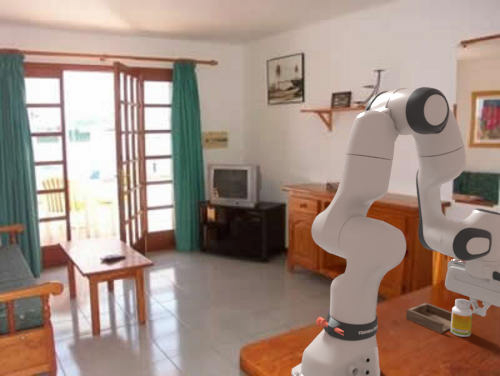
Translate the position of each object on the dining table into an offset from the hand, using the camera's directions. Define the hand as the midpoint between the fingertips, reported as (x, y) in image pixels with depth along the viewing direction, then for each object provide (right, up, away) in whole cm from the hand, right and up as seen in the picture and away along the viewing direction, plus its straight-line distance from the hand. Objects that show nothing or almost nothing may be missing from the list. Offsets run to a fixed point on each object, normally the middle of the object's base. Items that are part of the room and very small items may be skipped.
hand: (479, 314), depth 126 cm
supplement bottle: (-3, -7, +5) cm, 9 cm away
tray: (-8, -6, +13) cm, 16 cm away
